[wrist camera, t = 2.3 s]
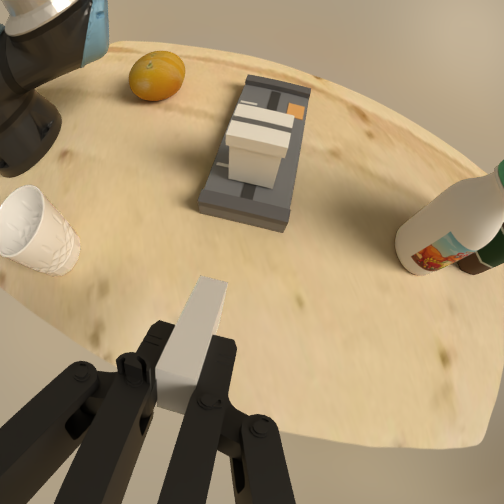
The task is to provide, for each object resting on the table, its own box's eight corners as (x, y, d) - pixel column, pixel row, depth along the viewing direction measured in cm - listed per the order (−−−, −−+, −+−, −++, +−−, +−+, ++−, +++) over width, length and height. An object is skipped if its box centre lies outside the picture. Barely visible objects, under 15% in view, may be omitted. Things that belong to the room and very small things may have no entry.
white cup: (48, 219, 31) (8, 183, 22) (92, 226, 32) (55, 185, 22) (32, 275, 29) (-16, 250, 19) (76, 287, 29) (28, 263, 20)
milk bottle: (383, 247, 34) (491, 162, 15) (408, 213, 36) (500, 129, 17) (420, 288, 33) (540, 234, 14) (442, 251, 35) (543, 188, 16)
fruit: (131, 114, 38) (120, 76, 30) (137, 84, 40) (129, 49, 33) (187, 105, 39) (182, 65, 31) (187, 76, 41) (184, 40, 34)
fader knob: (274, 191, 32) (288, 147, 25) (225, 180, 32) (225, 133, 25) (281, 160, 34) (294, 115, 26) (235, 150, 34) (238, 102, 26)
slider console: (283, 233, 33) (288, 222, 30) (199, 213, 33) (197, 201, 30) (306, 101, 41) (311, 88, 38) (246, 88, 41) (248, 74, 38)
